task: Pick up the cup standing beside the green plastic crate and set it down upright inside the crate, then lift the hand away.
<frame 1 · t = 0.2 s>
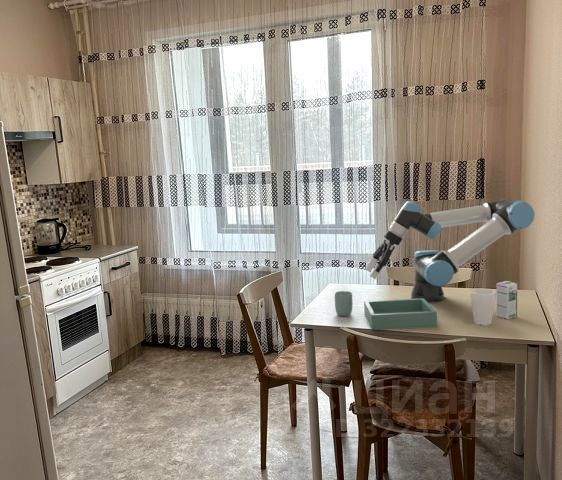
hand: (369, 274, 226), 16 cm above the table, tool tilted 35°, fingers open, 13 cm apart
cup: (344, 315, 223), on the table
syrup box: (506, 317, 209), on the table
crate: (398, 320, 212), on the table
foam cup: (482, 323, 203), on the table
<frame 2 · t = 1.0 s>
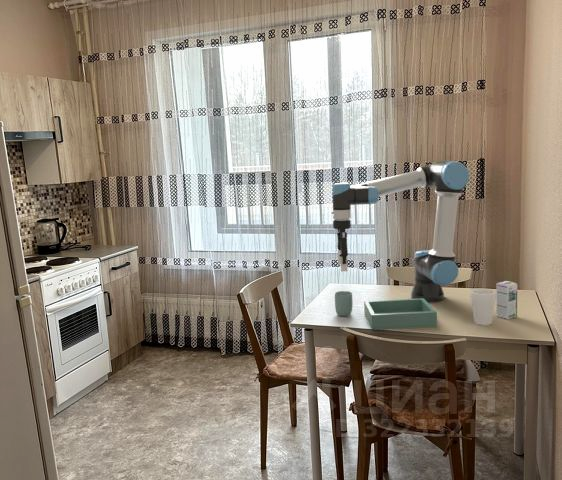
hand: (342, 267, 219), 21 cm above the table, tool pointing down, fingers open, 13 cm apart
nothing on the table moved.
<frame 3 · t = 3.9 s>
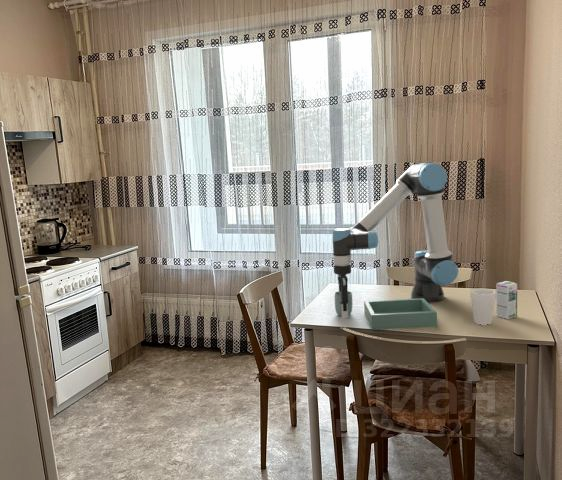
hand: (343, 314, 223), 0 cm above the table, tool pointing down, fingers closed on cup, 8 cm apart
cup: (344, 315, 223), on the table, touching gripper
everything else where it was.
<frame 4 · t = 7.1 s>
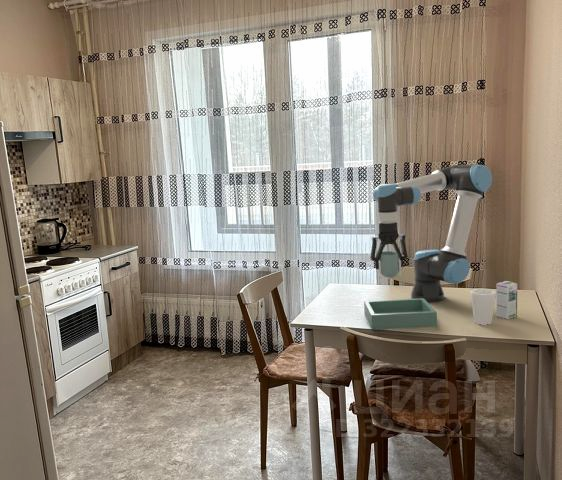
hand: (389, 275, 211), 19 cm above the table, tool pointing down, fingers closed on cup, 8 cm apart
cup: (389, 276, 211), point 18 cm above the table, touching gripper
everything else where it was.
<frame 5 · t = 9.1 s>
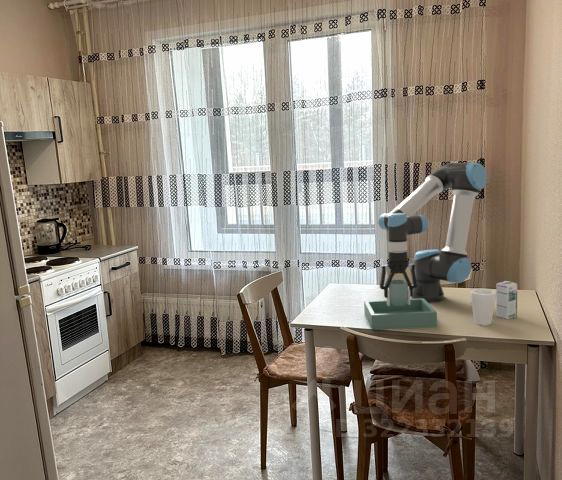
hand: (398, 304, 211), 7 cm above the table, tool pointing down, fingers closed on cup, 8 cm apart
cup: (398, 305, 211), point 6 cm above the table, touching gripper
everything else where it was.
when the fingers open (4 cm above the table, at t = 10.6 s): cup drops 2 cm, resting on crate.
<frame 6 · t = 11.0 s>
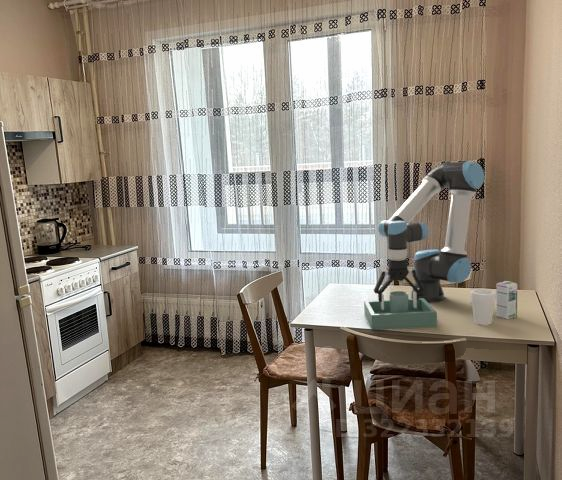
hand: (398, 308, 211), 5 cm above the table, tool pointing down, fingers open, 13 cm apart
cup: (398, 317, 212), point 1 cm above the table, touching crate
everything else where it was.
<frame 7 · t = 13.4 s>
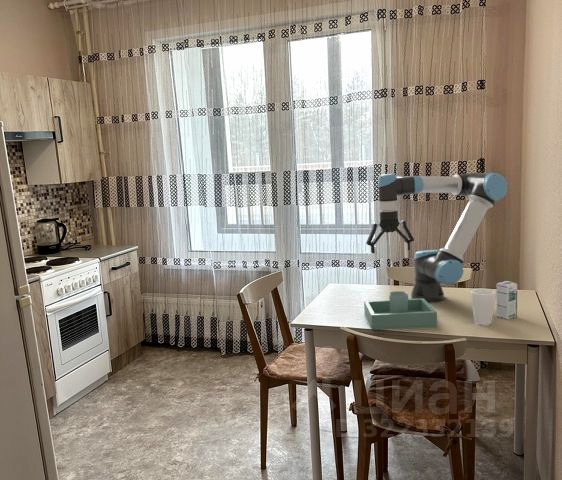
hand: (390, 259, 218), 24 cm above the table, tool pointing down, fingers open, 13 cm apart
nothing on the table moved.
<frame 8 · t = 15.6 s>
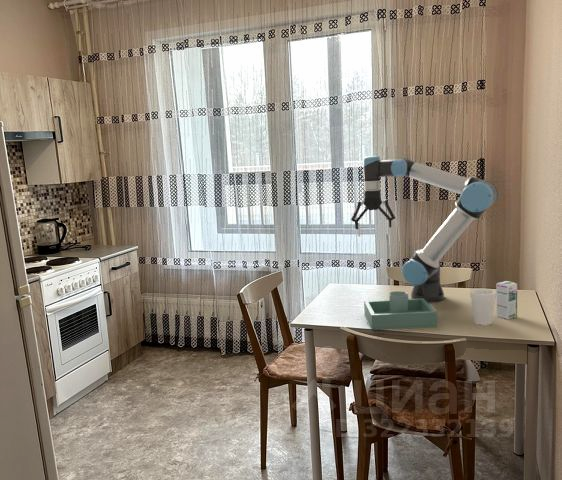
hand: (373, 235, 237), 32 cm above the table, tool pointing down, fingers open, 13 cm apart
nothing on the table moved.
at the end: cup inside the target area on the crate (0.0 cm from its centre), point 1.3 cm above the crate's base; cup tilted 0°; the gripper is holding nothing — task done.
